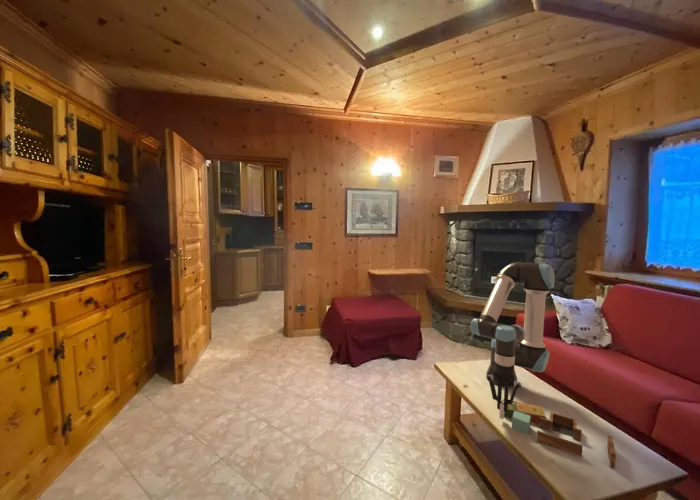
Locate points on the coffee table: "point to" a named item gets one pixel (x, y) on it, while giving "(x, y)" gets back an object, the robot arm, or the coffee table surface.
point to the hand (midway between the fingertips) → (501, 417)
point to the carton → (525, 411)
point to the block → (521, 422)
